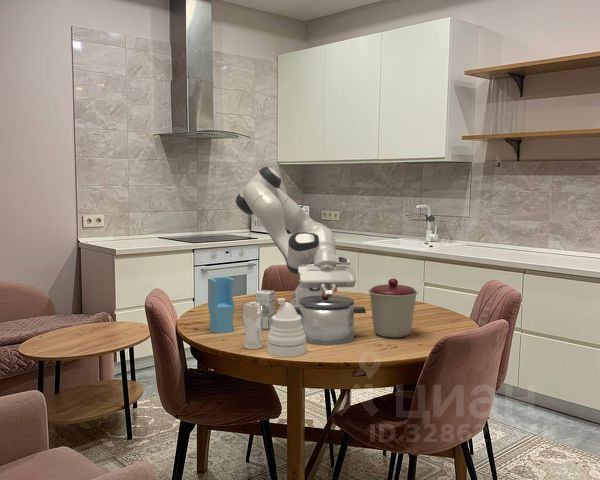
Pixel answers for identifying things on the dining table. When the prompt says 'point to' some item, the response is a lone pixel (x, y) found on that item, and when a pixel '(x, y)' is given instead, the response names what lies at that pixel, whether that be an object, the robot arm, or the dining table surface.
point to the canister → (392, 309)
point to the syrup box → (266, 306)
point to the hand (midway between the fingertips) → (328, 296)
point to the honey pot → (286, 332)
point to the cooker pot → (328, 324)
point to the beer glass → (253, 324)
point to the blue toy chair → (221, 305)
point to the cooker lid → (326, 301)
